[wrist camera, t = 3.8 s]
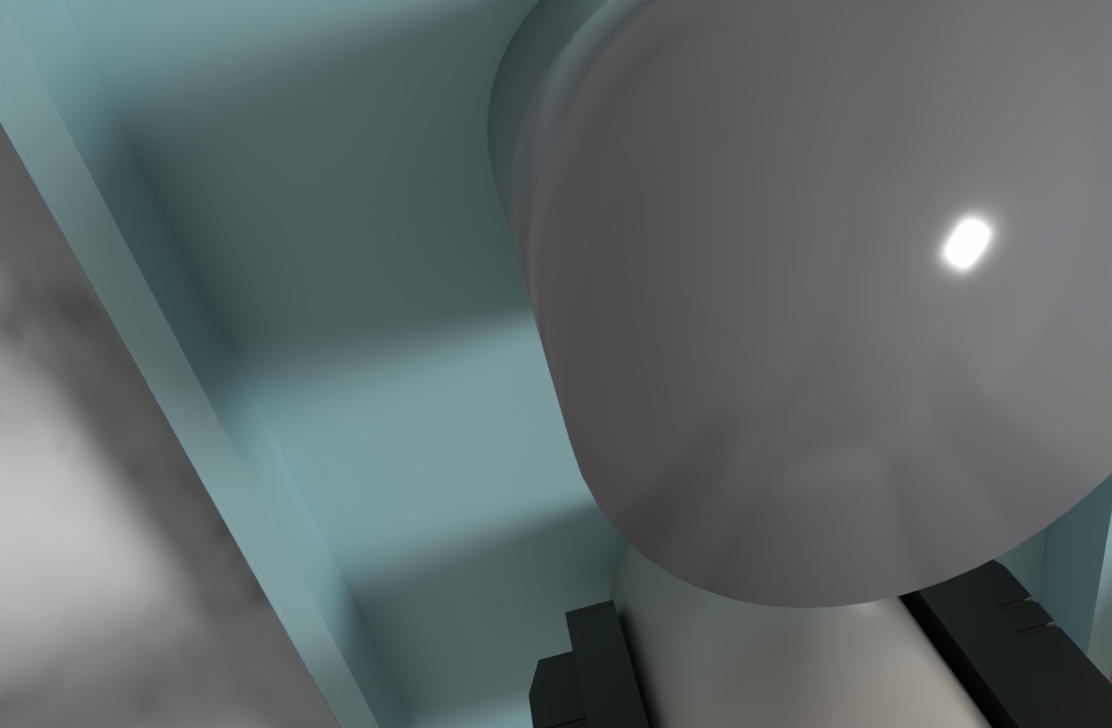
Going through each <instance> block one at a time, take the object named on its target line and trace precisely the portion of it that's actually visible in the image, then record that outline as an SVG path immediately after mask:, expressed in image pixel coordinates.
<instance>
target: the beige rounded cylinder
mask: <svg viewBox="0 0 1112 728" xmlns="http://www.w3.org/2000/svg"><path fill="white" fill-rule="evenodd" d="M612 599H613V601H614V604H615V608H616V611H617V615H618V618H619V622H620V625H621V629H622V633H623V636H624V640H625V643H626V647H627V650H628V654H629V657H630V661H631V664H632V668H633V672H634V675H635V679H636V682H637V686H638V689H639V693H640V696H641V700H642V703H643V707H644V711H645V714H646V718H647V721H648V725H649V728H993V727H992V725H991V724H990V723H989V721H988V720H987V718H986V717H985V716H984V714H983V713H982V711H981V710H980V709H979V707H978V706H977V704H976V703H975V702H974V700H973V699H972V697H971V696H970V694H969V693H968V692H967V690H966V689H965V687H964V686H963V685H962V683H961V682H960V680H959V679H958V678H957V676H956V675H955V673H954V672H953V671H952V669H951V668H950V666H949V665H948V663H947V662H946V661H945V659H944V658H943V656H942V655H941V654H940V652H939V651H938V649H937V648H936V647H935V645H934V644H933V642H932V641H931V640H930V638H929V637H928V635H927V634H926V633H925V631H924V630H923V628H922V627H921V625H920V624H919V623H918V621H917V620H916V618H915V617H914V616H913V614H912V613H911V611H910V610H909V609H908V607H907V606H906V604H905V603H904V602H903V600H902V599H901V597H900V596H895V597H891V598H886V599H882V600H878V601H873V602H869V603H861V604H853V605H846V606H838V607H820V608H790V607H777V606H765V605H759V604H754V603H749V602H744V601H739V600H734V599H730V598H727V597H724V596H721V595H718V594H715V593H712V592H709V591H706V590H702V589H700V588H698V587H695V586H693V585H691V584H689V583H687V582H685V581H683V580H681V579H679V578H677V577H675V576H673V575H671V574H669V573H668V572H666V571H665V570H663V569H662V568H660V567H659V566H658V565H656V564H655V563H653V562H652V561H650V560H649V559H647V558H646V557H644V556H643V555H642V554H641V553H640V552H639V551H638V550H637V549H635V548H634V547H633V546H632V545H630V546H629V547H628V549H627V550H626V552H625V553H624V555H623V557H622V558H621V560H620V562H619V564H618V566H617V569H616V571H615V574H614V577H613V580H612V586H611V591H610V600H612Z"/></svg>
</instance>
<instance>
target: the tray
mask: <svg viewBox="0 0 1112 728" xmlns="http://www.w3.org/2000/svg"><path fill="white" fill-rule="evenodd" d="M539 1H540V0H0V123H1V125H2V126H3V128H4V130H5V132H6V133H7V135H8V137H9V139H10V141H11V142H12V144H13V146H14V148H15V150H16V151H17V153H18V155H19V157H20V158H21V160H22V162H23V164H24V166H25V167H26V169H27V171H28V173H29V174H30V176H31V178H32V180H33V182H34V183H35V185H36V187H37V189H38V190H39V192H40V194H41V196H42V198H43V199H44V201H45V203H46V205H47V206H48V208H49V210H50V212H51V214H52V215H53V217H54V219H55V221H56V222H57V224H58V226H59V228H60V230H61V231H62V233H63V235H64V237H65V239H66V240H67V242H68V244H69V246H70V247H71V249H72V251H73V253H74V255H75V256H76V258H77V260H78V262H79V263H80V265H81V267H82V269H83V271H84V272H85V274H86V276H87V278H88V279H89V281H90V283H91V285H92V287H93V288H94V290H95V292H96V294H97V295H98V297H99V299H100V301H101V303H102V304H103V306H104V308H105V310H106V311H107V313H108V315H109V317H110V319H111V320H112V322H113V324H114V326H115V328H116V329H117V331H118V333H119V335H120V336H121V338H122V340H123V342H124V344H125V345H126V347H127V349H128V351H129V352H130V354H131V356H132V358H133V360H134V361H135V363H136V365H137V367H138V368H139V370H140V372H141V374H142V376H143V377H144V379H145V381H146V383H147V384H148V386H149V388H150V390H151V392H152V393H153V395H154V397H155V399H156V400H157V402H158V404H159V406H160V408H161V409H162V411H163V413H164V415H165V417H166V418H167V420H168V422H169V424H170V425H171V427H172V429H173V431H174V433H175V434H176V436H177V438H178V440H179V441H180V443H181V445H182V447H183V449H184V450H185V452H186V454H187V456H188V457H189V459H190V461H191V463H192V465H193V466H194V468H195V470H196V472H197V473H198V475H199V477H200V479H201V481H202V482H203V484H204V486H205V488H206V489H207V491H208V493H209V495H210V497H211V498H212V500H213V502H214V504H215V506H216V507H217V509H218V511H219V513H220V514H221V516H222V518H223V520H224V522H225V523H226V525H227V527H228V529H229V530H230V532H231V534H232V536H233V538H234V539H235V541H236V543H237V545H238V546H239V548H240V550H241V552H242V554H243V555H244V557H245V559H246V561H247V562H248V564H249V566H250V568H251V570H252V571H253V573H254V575H255V577H256V578H257V580H258V582H259V584H260V586H261V587H262V589H263V591H264V593H265V594H266V596H267V598H268V600H269V602H270V603H271V605H272V607H273V609H274V611H275V612H276V614H277V616H278V618H279V619H280V621H281V623H282V625H283V627H284V628H285V630H286V632H287V634H288V635H289V637H290V639H291V641H292V643H293V644H294V646H295V648H296V650H297V651H298V653H299V655H300V657H301V659H302V660H303V662H304V664H305V666H306V667H307V669H308V671H309V673H310V675H311V676H312V678H313V680H314V682H315V683H316V685H317V687H318V689H319V691H320V692H321V694H322V696H323V698H324V700H325V701H326V703H327V705H328V707H329V708H330V710H331V712H332V714H333V716H334V717H335V719H336V721H337V723H338V724H339V726H340V728H533V724H532V717H531V710H530V702H529V692H530V688H531V685H532V681H533V678H534V674H535V671H536V667H537V664H538V660H540V659H544V658H548V657H551V656H555V655H559V654H563V653H566V652H570V651H573V650H572V645H571V640H570V635H569V631H568V626H567V621H566V615H565V612H568V611H572V610H575V609H579V608H583V607H587V606H590V605H594V604H598V603H601V602H605V601H609V600H610V591H611V586H612V580H613V577H614V574H615V571H616V569H617V566H618V564H619V562H620V560H621V558H622V557H623V555H624V553H625V552H626V550H627V549H628V547H629V546H630V545H631V544H630V543H629V542H628V541H627V540H626V539H625V538H624V537H623V536H622V535H621V534H619V532H618V531H617V530H616V529H615V527H614V526H613V525H612V523H611V522H610V521H609V520H608V518H607V517H606V516H605V514H604V513H603V512H602V510H601V509H600V508H599V507H598V505H597V503H596V501H595V499H594V497H593V496H592V494H591V492H590V490H589V488H588V486H587V484H586V483H585V481H584V479H583V477H582V475H581V472H580V469H579V466H578V464H577V461H576V458H575V455H574V452H573V449H572V446H571V443H570V440H569V437H568V433H567V430H566V427H565V423H564V420H563V416H562V413H561V409H560V406H559V402H558V399H557V395H556V392H555V388H554V385H553V381H552V378H551V375H550V371H549V368H548V364H547V361H546V357H545V354H544V350H543V347H542V343H541V340H540V336H539V333H538V330H537V326H536V323H535V319H534V316H533V312H532V309H531V305H530V302H529V298H528V295H527V291H526V288H525V285H524V281H523V278H522V274H521V271H520V267H519V264H518V260H517V257H516V253H515V250H514V246H513V243H512V239H511V236H510V233H509V229H508V226H507V222H506V219H505V215H504V212H503V208H502V205H501V201H500V198H499V194H498V191H497V188H496V184H495V181H494V177H493V173H492V168H491V163H490V158H489V153H488V137H487V123H488V108H489V102H490V97H491V92H492V87H493V83H494V80H495V77H496V74H497V71H498V68H499V65H500V62H501V60H502V57H503V55H504V53H505V51H506V49H507V47H508V45H509V43H510V41H511V39H512V37H513V36H514V34H515V33H516V31H517V30H518V28H519V26H520V25H521V23H522V22H523V20H524V19H525V17H526V16H527V15H528V14H529V13H530V12H531V10H532V9H533V8H534V7H535V6H536V5H537V3H538V2H539ZM993 560H995V561H997V562H999V563H1000V564H1002V565H1004V566H1005V567H1006V568H1007V569H1008V570H1009V571H1010V572H1011V573H1012V575H1013V576H1014V577H1015V578H1016V579H1017V580H1018V581H1019V582H1020V583H1021V584H1022V586H1023V587H1024V588H1025V589H1026V590H1027V591H1028V592H1029V593H1030V594H1031V595H1032V599H1033V601H1034V602H1038V603H1039V604H1040V605H1041V607H1042V608H1043V609H1044V610H1045V611H1046V612H1047V613H1048V614H1049V615H1050V616H1051V618H1052V619H1053V620H1054V623H1055V625H1056V626H1057V627H1061V629H1062V630H1063V631H1064V632H1065V633H1066V634H1067V635H1068V636H1069V637H1070V638H1071V640H1072V641H1073V642H1074V643H1075V644H1076V645H1077V646H1078V647H1079V648H1080V649H1081V651H1082V652H1083V653H1084V654H1085V655H1086V656H1087V657H1088V658H1089V659H1090V660H1091V662H1092V663H1093V664H1094V665H1095V666H1096V667H1097V668H1098V669H1099V670H1100V671H1101V673H1102V674H1103V675H1104V676H1105V677H1106V678H1107V679H1108V680H1109V681H1110V676H1111V671H1112V473H1111V474H1110V475H1109V476H1108V477H1107V478H1106V479H1105V480H1104V481H1102V482H1101V483H1100V484H1099V485H1098V486H1097V487H1096V488H1095V489H1093V490H1092V491H1091V492H1090V493H1089V494H1088V495H1087V496H1085V497H1084V498H1083V499H1082V500H1081V501H1080V502H1079V503H1078V504H1076V505H1075V506H1074V507H1072V508H1071V509H1070V510H1068V511H1067V512H1066V513H1064V514H1063V515H1062V516H1060V517H1059V518H1058V519H1056V520H1055V521H1054V522H1052V523H1051V524H1050V525H1048V526H1047V527H1046V528H1044V529H1043V530H1041V531H1039V532H1038V533H1036V534H1035V535H1033V536H1032V537H1030V538H1028V539H1027V540H1025V541H1024V542H1022V543H1020V544H1019V545H1017V546H1016V547H1014V548H1013V549H1011V550H1009V551H1007V552H1005V553H1003V554H1001V555H999V556H998V557H996V558H994V559H993Z"/></svg>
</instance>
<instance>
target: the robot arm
mask: <svg viewBox="0 0 1112 728" xmlns="http://www.w3.org/2000/svg"><path fill="white" fill-rule="evenodd" d="M899 596H900V597H901V599H902V600H903V602H904V603H905V604H906V606H907V607H908V609H909V610H910V611H911V613H912V614H913V616H914V617H915V618H916V620H917V621H918V623H919V624H920V625H921V627H922V628H923V630H924V631H925V633H926V634H927V635H928V637H929V638H930V640H931V641H932V642H933V644H934V645H935V647H936V648H937V649H938V651H939V652H940V654H941V655H942V656H943V658H944V659H945V661H946V662H947V663H948V665H949V666H950V668H951V669H952V671H953V672H954V673H955V675H956V676H957V678H958V679H959V680H960V682H961V683H962V685H963V686H964V687H965V689H966V690H967V692H968V693H969V694H970V696H971V697H972V699H973V700H974V702H975V703H976V704H977V706H978V707H979V709H980V710H981V711H982V713H983V714H984V716H985V717H986V718H987V720H988V721H989V723H990V724H991V725H992V727H993V728H1112V684H1111V683H1110V681H1109V680H1108V679H1107V678H1106V677H1105V676H1104V675H1103V674H1102V673H1101V671H1100V670H1099V669H1098V668H1097V667H1096V666H1095V665H1094V664H1093V663H1092V662H1091V660H1090V659H1089V658H1088V657H1087V656H1086V655H1085V654H1084V653H1083V652H1082V651H1081V649H1080V648H1079V647H1078V646H1077V645H1076V644H1075V643H1074V642H1073V641H1072V640H1071V638H1070V637H1069V636H1068V635H1067V634H1066V633H1065V632H1064V631H1063V630H1062V629H1061V627H1057V626H1056V625H1055V623H1054V620H1053V619H1052V618H1051V616H1050V615H1049V614H1048V613H1047V612H1046V611H1045V610H1044V609H1043V608H1042V607H1041V605H1040V604H1039V603H1038V602H1034V601H1033V599H1032V595H1031V594H1030V593H1029V592H1028V591H1027V590H1026V589H1025V588H1024V587H1023V586H1022V584H1021V583H1020V582H1019V581H1018V580H1017V579H1016V578H1015V577H1014V576H1013V575H1012V573H1011V572H1010V571H1009V570H1008V569H1007V568H1006V567H1005V566H1004V565H1002V564H1000V563H999V562H997V561H995V560H993V559H992V560H990V561H988V562H986V563H984V564H982V565H980V566H978V567H977V568H974V569H972V570H970V571H967V572H965V573H962V574H960V575H958V576H955V577H953V578H951V579H948V580H946V581H943V582H941V583H938V584H935V585H932V586H929V587H926V588H923V589H920V590H917V591H913V592H910V593H907V594H904V595H899ZM565 615H566V621H567V626H568V631H569V635H570V640H571V645H572V650H573V651H570V652H566V653H563V654H559V655H555V656H551V657H548V658H544V659H540V660H538V664H537V667H536V671H535V674H534V678H533V681H532V685H531V688H530V692H529V702H530V710H531V717H532V724H533V728H649V725H648V721H647V718H646V714H645V711H644V707H643V703H642V700H641V696H640V693H639V689H638V686H637V682H636V679H635V675H634V672H633V668H632V664H631V661H630V657H629V654H628V650H627V647H626V643H625V640H624V636H623V633H622V629H621V625H620V622H619V618H618V615H617V611H616V608H615V604H614V601H613V599H612V600H609V601H605V602H601V603H598V604H594V605H590V606H587V607H583V608H579V609H575V610H572V611H568V612H565Z"/></svg>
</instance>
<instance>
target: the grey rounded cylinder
mask: <svg viewBox="0 0 1112 728" xmlns="http://www.w3.org/2000/svg"><path fill="white" fill-rule="evenodd" d="M487 137H488V153H489V158H490V163H491V168H492V173H493V177H494V181H495V184H496V188H497V191H498V194H499V198H500V201H501V205H502V208H503V212H504V215H505V219H506V222H507V226H508V229H509V233H510V236H511V239H512V243H513V246H514V250H515V253H516V257H517V260H518V264H519V267H520V271H521V274H522V278H523V281H524V285H525V288H526V291H527V295H528V298H529V302H530V305H531V309H532V312H533V316H534V319H535V323H536V326H537V330H538V333H539V336H540V340H541V343H542V347H543V350H544V354H545V357H546V361H547V364H548V368H549V371H550V375H551V378H552V381H553V385H554V388H555V392H556V395H557V399H558V402H559V406H560V409H561V413H562V416H563V420H564V423H565V427H566V430H567V433H568V437H569V440H570V443H571V446H572V449H573V452H574V455H575V458H576V461H577V464H578V466H579V469H580V472H581V475H582V477H583V479H584V481H585V483H586V484H587V486H588V488H589V490H590V492H591V494H592V496H593V497H594V499H595V501H596V503H597V505H598V507H599V508H600V509H601V510H602V512H603V513H604V514H605V516H606V517H607V518H608V520H609V521H610V522H611V523H612V525H613V526H614V527H615V529H616V530H617V531H618V532H619V534H621V535H622V536H623V537H624V538H625V539H626V540H627V541H628V542H629V543H630V544H631V545H632V546H633V547H634V548H635V549H637V550H638V551H639V552H640V553H641V554H642V555H643V556H644V557H646V558H647V559H649V560H650V561H652V562H653V563H655V564H656V565H658V566H659V567H660V568H662V569H663V570H665V571H666V572H668V573H669V574H671V575H673V576H675V577H677V578H679V579H681V580H683V581H685V582H687V583H689V584H691V585H693V586H695V587H698V588H700V589H702V590H706V591H709V592H712V593H715V594H718V595H721V596H724V597H727V598H730V599H734V600H739V601H744V602H749V603H754V604H759V605H765V606H777V607H790V608H820V607H838V606H846V605H853V604H861V603H869V602H873V601H878V600H882V599H886V598H891V597H895V596H899V595H904V594H907V593H910V592H913V591H917V590H920V589H923V588H926V587H929V586H932V585H935V584H938V583H941V582H943V581H946V580H948V579H951V578H953V577H955V576H958V575H960V574H962V573H965V572H967V571H970V570H972V569H974V568H977V567H978V566H980V565H982V564H984V563H986V562H988V561H990V560H992V559H994V558H996V557H998V556H999V555H1001V554H1003V553H1005V552H1007V551H1009V550H1011V549H1013V548H1014V547H1016V546H1017V545H1019V544H1020V543H1022V542H1024V541H1025V540H1027V539H1028V538H1030V537H1032V536H1033V535H1035V534H1036V533H1038V532H1039V531H1041V530H1043V529H1044V528H1046V527H1047V526H1048V525H1050V524H1051V523H1052V522H1054V521H1055V520H1056V519H1058V518H1059V517H1060V516H1062V515H1063V514H1064V513H1066V512H1067V511H1068V510H1070V509H1071V508H1072V507H1074V506H1075V505H1076V504H1078V503H1079V502H1080V501H1081V500H1082V499H1083V498H1084V497H1085V496H1087V495H1088V494H1089V493H1090V492H1091V491H1092V490H1093V489H1095V488H1096V487H1097V486H1098V485H1099V484H1100V483H1101V482H1102V481H1104V480H1105V479H1106V478H1107V477H1108V476H1109V475H1110V474H1111V473H1112V0H540V1H539V2H538V3H537V5H536V6H535V7H534V8H533V9H532V10H531V12H530V13H529V14H528V15H527V16H526V17H525V19H524V20H523V22H522V23H521V25H520V26H519V28H518V30H517V31H516V33H515V34H514V36H513V37H512V39H511V41H510V43H509V45H508V47H507V49H506V51H505V53H504V55H503V57H502V60H501V62H500V65H499V68H498V71H497V74H496V77H495V80H494V83H493V87H492V92H491V97H490V102H489V108H488V123H487Z"/></svg>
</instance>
